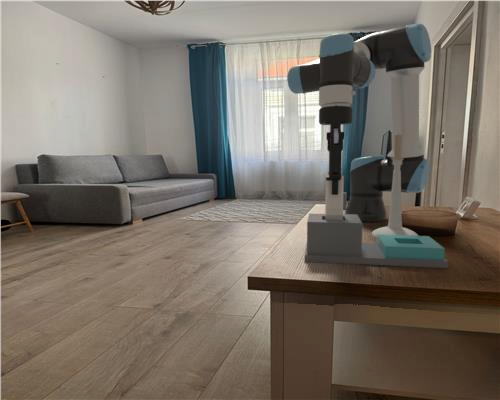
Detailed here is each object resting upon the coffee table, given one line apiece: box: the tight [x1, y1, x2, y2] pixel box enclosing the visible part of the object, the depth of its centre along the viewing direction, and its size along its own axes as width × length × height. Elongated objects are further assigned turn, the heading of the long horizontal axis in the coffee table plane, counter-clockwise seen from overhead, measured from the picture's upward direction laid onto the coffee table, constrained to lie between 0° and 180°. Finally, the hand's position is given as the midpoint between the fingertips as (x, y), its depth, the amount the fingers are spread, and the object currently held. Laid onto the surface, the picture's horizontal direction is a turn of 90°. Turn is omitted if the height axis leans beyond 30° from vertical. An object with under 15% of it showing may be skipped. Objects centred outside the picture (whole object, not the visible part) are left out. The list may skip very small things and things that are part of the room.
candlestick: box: [371, 133, 419, 239], centre depth 105 cm, size 13×13×30 cm
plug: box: [324, 175, 348, 220], centre depth 87 cm, size 5×4×12 cm
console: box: [304, 213, 449, 269], centre depth 86 cm, size 30×14×9 cm, turn 79°
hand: (334, 206), depth 87 cm, fingers closed on plug, 4 cm apart
